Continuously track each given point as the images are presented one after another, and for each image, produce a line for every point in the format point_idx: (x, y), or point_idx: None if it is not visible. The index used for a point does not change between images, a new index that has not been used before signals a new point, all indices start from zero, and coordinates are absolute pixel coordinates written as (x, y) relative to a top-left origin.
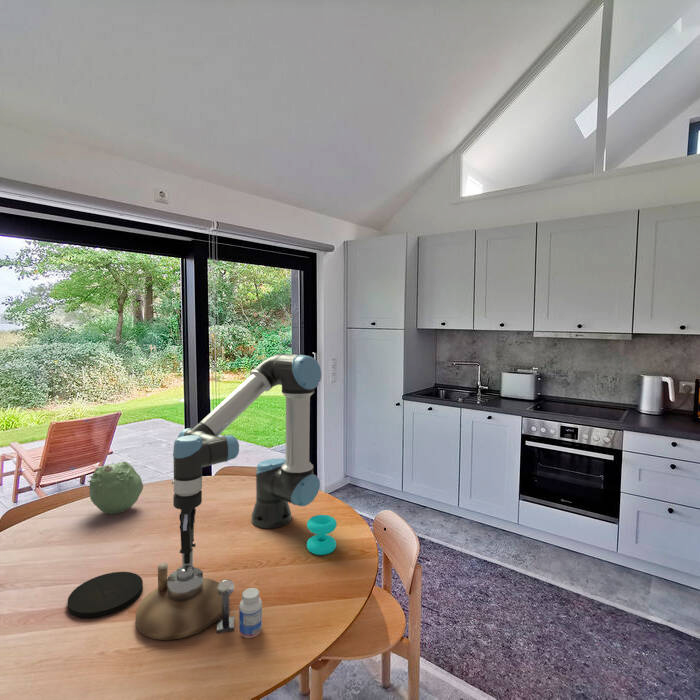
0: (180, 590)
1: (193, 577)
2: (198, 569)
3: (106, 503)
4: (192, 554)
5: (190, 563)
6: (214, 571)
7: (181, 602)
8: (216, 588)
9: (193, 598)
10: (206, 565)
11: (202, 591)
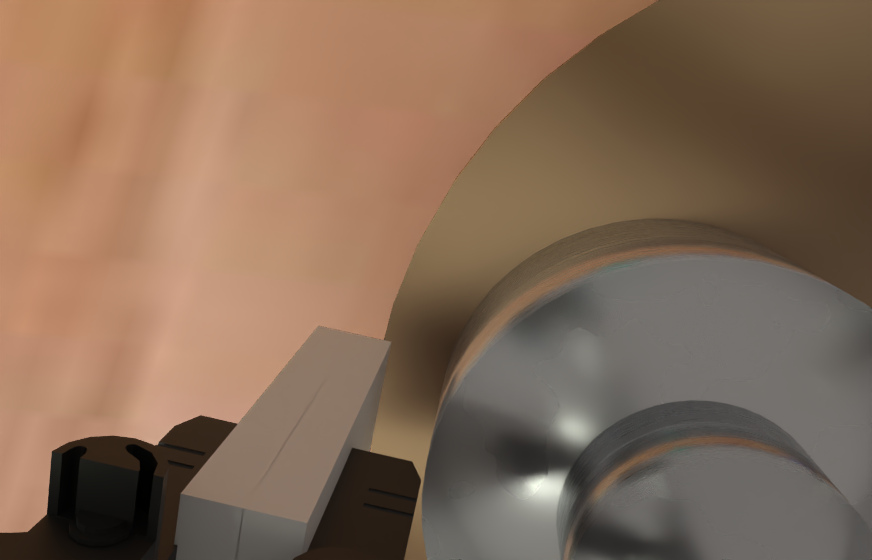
0: None
1: (782, 417)
2: (568, 313)
3: None
4: (305, 461)
5: (358, 423)
6: (197, 4)
7: None
8: (797, 47)
9: None
10: (32, 85)
11: (767, 235)
